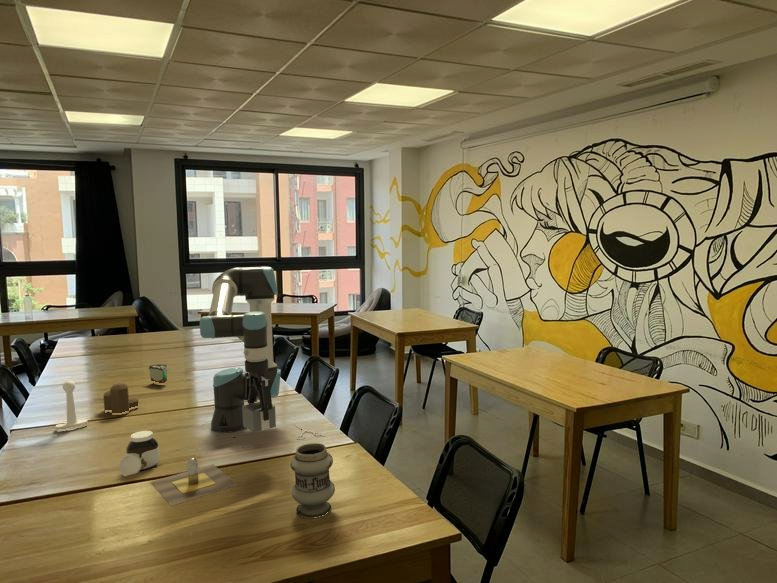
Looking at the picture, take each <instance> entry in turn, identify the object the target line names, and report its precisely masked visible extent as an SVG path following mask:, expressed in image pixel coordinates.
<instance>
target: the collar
mask: <svg viewBox="0 0 777 583" xmlns="http://www.w3.org/2000/svg"><path fill="white" fill-rule="evenodd" d="M260 410H262V409H261V405H260V401H259V402H258V401H257V402H254V403H252V404H244V406H242V413H243V426H244V427H245V429H247V430H249V431H251V432H252V433H253V434H255V433H258V432H263V430H261V417H260ZM276 418H277V417H276V406H275V405H273V404H272V409H271V410H269V425H270V429H272V428H276V427H277V422H276V420H277V419H276Z"/></svg>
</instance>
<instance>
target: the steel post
mask: <svg viewBox="0 0 777 583" xmlns="http://www.w3.org/2000/svg"><path fill="white" fill-rule="evenodd" d="M198 463H199V462H198V460H197V458H196V457H191V458H190V459H189V458H188V460H187V463H186V464H187V471H188V484H189V485H195V484H197V483H199V477H198V468H199V464H198Z"/></svg>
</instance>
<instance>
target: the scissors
mask: <svg viewBox="0 0 777 583" xmlns="http://www.w3.org/2000/svg"><path fill="white" fill-rule="evenodd" d="M303 430H305V431H303ZM303 430H301V433H300V435H298V436H296V438H297V439H298V441H301V439H303V440H304V439H305V436H304V435H303V434H305V433H309V432H312V433H311V434H312V435H314V437H323V436H324V438H325V436H326V435H323V433H322V432H319V433H320V434H315V433H316V432H314V431H309V430H307V429H306V428H305V429H303ZM304 432H305V433H304ZM320 435H321V436H320ZM300 436H302V437H300ZM297 439H296V440H297Z"/></svg>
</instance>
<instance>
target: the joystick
mask: <svg viewBox="0 0 777 583" xmlns="http://www.w3.org/2000/svg"><path fill="white" fill-rule="evenodd" d="M75 388H76V383H75V382H74V381H73V380H66V381H64V383H63V384H62V390H63V391H64V392H65V394H66V398H65V399H66V403H65V404H66V421H65V422H64V423H60V424H55V430H56V429H57V430H58V429H66V428H71V427H76V426H80V425H84V424H88V425H89V421H88V419H85V418H84V419H80V420H78V419H77V413H76V405H75V400H74V399H75V398H74V393H73V392H74V390H75ZM57 430H56V431H57Z"/></svg>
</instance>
